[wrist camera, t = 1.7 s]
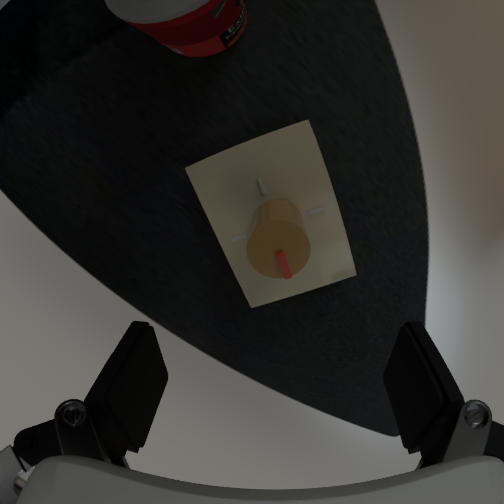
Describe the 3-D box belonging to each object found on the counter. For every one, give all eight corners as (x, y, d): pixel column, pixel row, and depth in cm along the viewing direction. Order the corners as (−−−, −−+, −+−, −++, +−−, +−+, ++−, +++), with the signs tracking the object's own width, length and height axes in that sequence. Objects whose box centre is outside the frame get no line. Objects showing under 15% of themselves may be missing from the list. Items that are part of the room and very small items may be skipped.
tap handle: (244, 209, 24) (236, 234, 19) (293, 192, 23) (299, 212, 18) (262, 253, 25) (260, 288, 20) (309, 238, 24) (319, 269, 19)
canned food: (248, 56, 20) (231, 7, 10) (161, 65, 20) (96, 36, 10) (248, -11, 17) (233, -77, 7) (164, 0, 17) (111, -48, 7)
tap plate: (190, 165, 24) (183, 168, 22) (305, 120, 22) (308, 119, 20) (252, 297, 30) (251, 309, 28) (351, 265, 28) (357, 275, 26)
